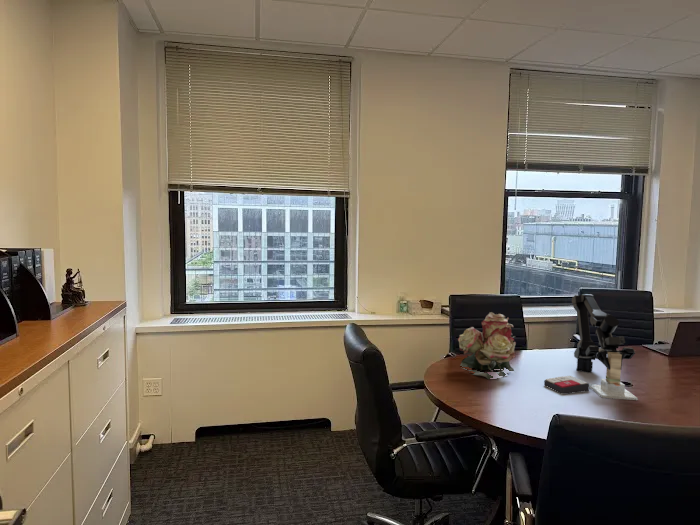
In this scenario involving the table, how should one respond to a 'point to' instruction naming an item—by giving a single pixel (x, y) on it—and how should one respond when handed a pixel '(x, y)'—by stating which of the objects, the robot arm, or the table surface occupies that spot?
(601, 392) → the sleeve stand
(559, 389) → the calculator
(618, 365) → the column
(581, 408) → the table surface
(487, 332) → the rose bouquet
